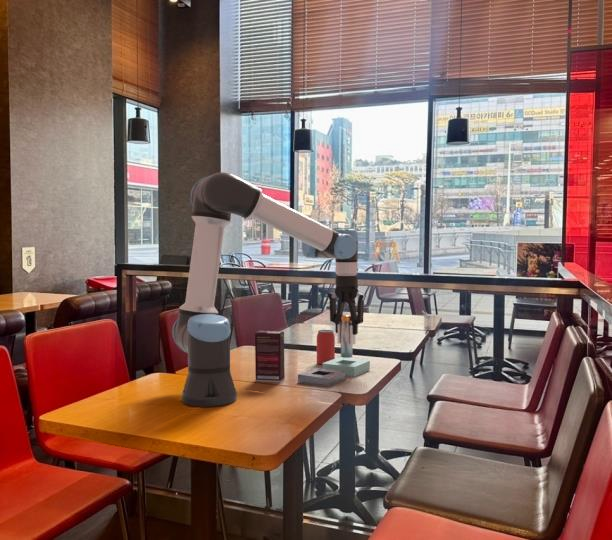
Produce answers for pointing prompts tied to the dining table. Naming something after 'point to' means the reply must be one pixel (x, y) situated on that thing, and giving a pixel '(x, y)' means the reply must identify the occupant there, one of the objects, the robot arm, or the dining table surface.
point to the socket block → (347, 366)
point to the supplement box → (269, 356)
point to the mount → (321, 377)
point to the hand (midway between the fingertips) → (346, 343)
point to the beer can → (325, 346)
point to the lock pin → (345, 336)
